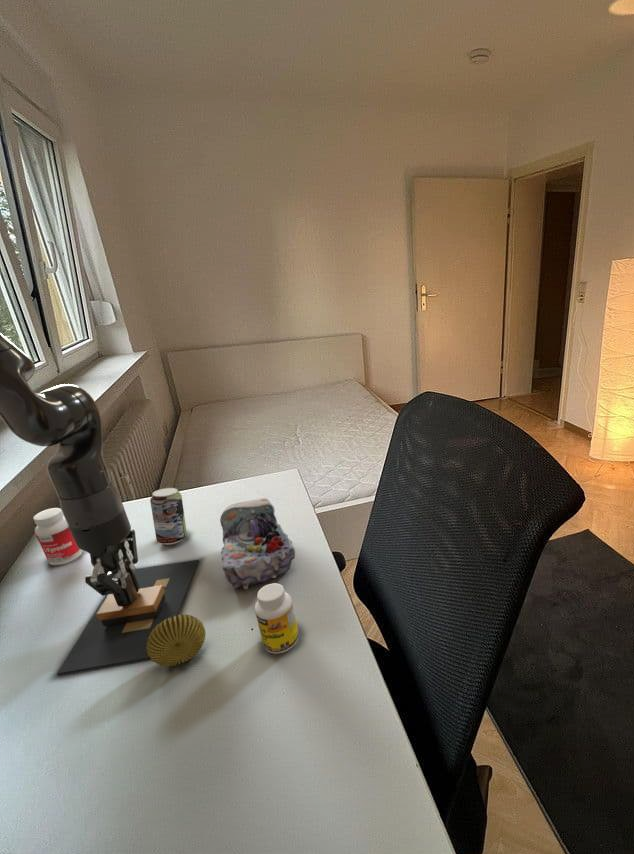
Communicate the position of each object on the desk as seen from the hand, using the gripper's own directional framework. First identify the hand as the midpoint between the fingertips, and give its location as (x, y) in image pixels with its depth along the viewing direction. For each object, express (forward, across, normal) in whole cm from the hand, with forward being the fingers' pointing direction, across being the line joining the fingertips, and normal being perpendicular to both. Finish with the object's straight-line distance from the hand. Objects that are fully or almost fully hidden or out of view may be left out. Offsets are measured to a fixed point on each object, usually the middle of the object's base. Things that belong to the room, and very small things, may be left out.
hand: (129, 597), depth 76 cm
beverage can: (+4, -23, 0) cm, 24 cm away
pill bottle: (+4, -22, -22) cm, 32 cm away
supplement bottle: (+4, +12, +26) cm, 29 cm away
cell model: (+4, -10, +20) cm, 22 cm away
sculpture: (+4, +12, +11) cm, 17 cm away
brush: (+3, 0, 0) cm, 3 cm away
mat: (+4, -1, 0) cm, 4 cm away
